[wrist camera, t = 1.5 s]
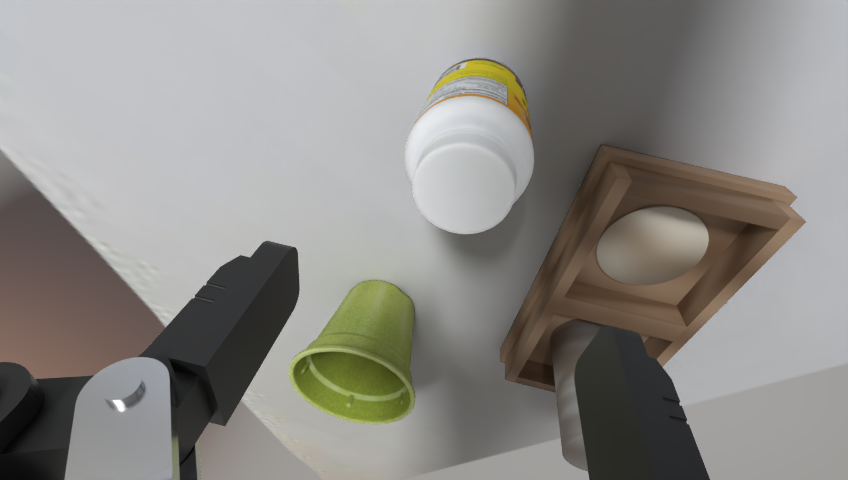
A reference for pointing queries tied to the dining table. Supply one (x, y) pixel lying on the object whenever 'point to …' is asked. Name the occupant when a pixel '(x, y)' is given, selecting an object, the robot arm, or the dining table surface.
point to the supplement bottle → (471, 147)
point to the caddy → (641, 267)
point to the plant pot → (361, 358)
